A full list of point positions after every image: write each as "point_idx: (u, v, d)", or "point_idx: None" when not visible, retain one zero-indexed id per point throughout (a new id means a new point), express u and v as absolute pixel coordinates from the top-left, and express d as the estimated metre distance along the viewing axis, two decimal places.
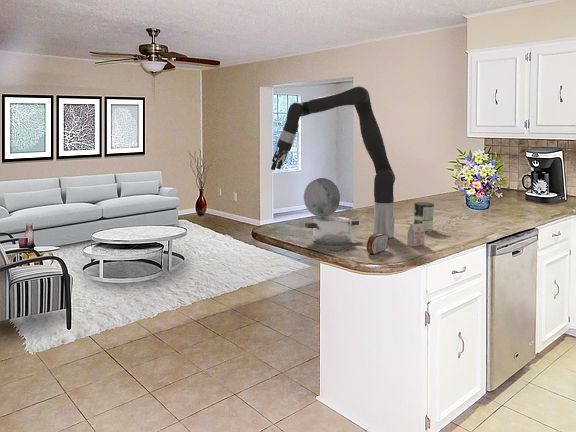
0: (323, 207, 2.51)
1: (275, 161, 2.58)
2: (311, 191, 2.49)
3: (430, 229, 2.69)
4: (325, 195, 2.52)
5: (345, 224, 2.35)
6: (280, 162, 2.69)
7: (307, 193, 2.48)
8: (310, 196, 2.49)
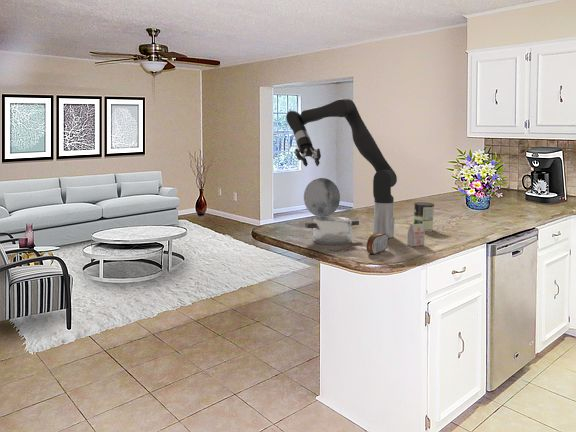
0: (323, 207, 2.51)
1: (299, 156, 2.60)
2: (311, 191, 2.49)
3: (430, 229, 2.69)
4: (325, 195, 2.52)
5: (345, 224, 2.35)
6: (315, 159, 2.63)
7: (307, 193, 2.48)
8: (310, 196, 2.49)
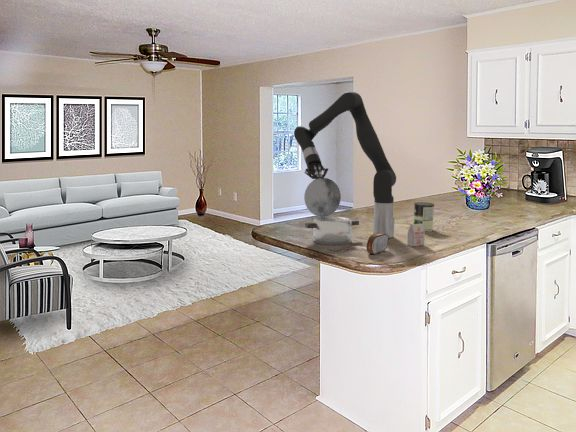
0: (323, 207, 2.51)
1: (313, 175, 2.53)
2: (312, 191, 2.48)
3: (430, 229, 2.69)
4: (326, 195, 2.51)
5: (345, 224, 2.35)
6: None
7: (307, 193, 2.47)
8: (311, 196, 2.48)
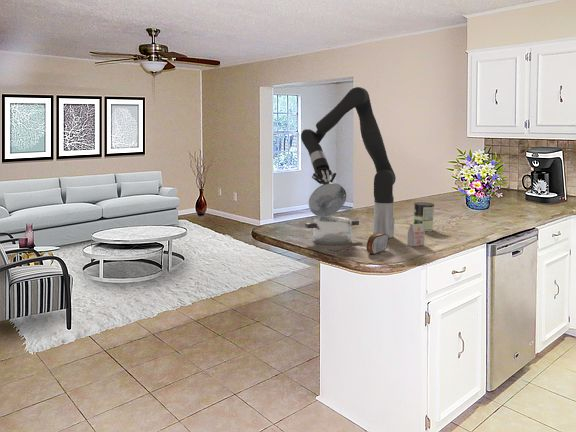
0: (326, 209, 2.49)
1: (320, 180, 2.45)
2: (318, 196, 2.42)
3: (430, 229, 2.69)
4: (331, 199, 2.46)
5: (345, 224, 2.35)
6: None
7: (313, 197, 2.41)
8: (316, 200, 2.43)
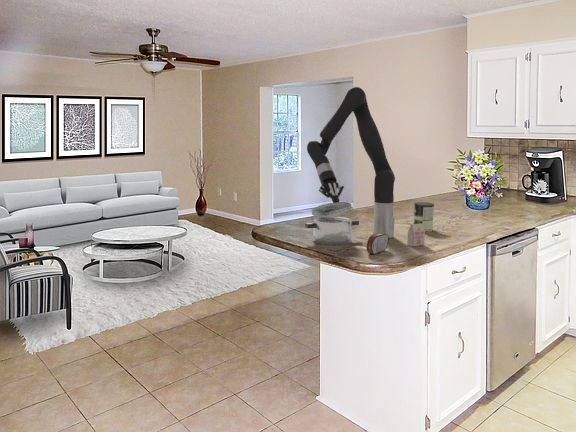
0: (327, 213, 2.47)
1: (328, 194, 2.38)
2: (323, 209, 2.38)
3: (430, 229, 2.69)
4: (335, 210, 2.43)
5: (345, 224, 2.35)
6: None
7: (317, 210, 2.38)
8: (319, 211, 2.39)
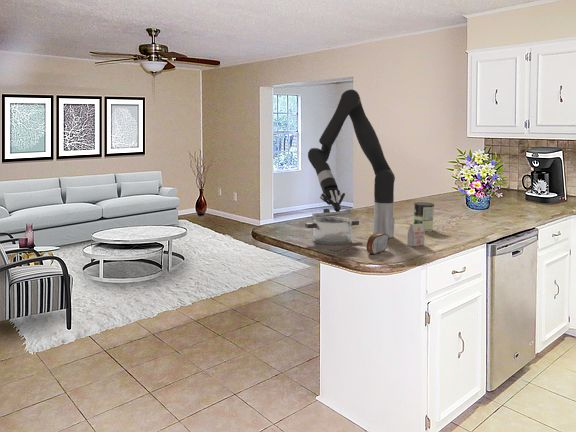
0: None
1: (329, 201, 2.37)
2: None
3: (430, 229, 2.69)
4: (336, 215, 2.42)
5: (345, 224, 2.35)
6: None
7: (318, 216, 2.37)
8: None
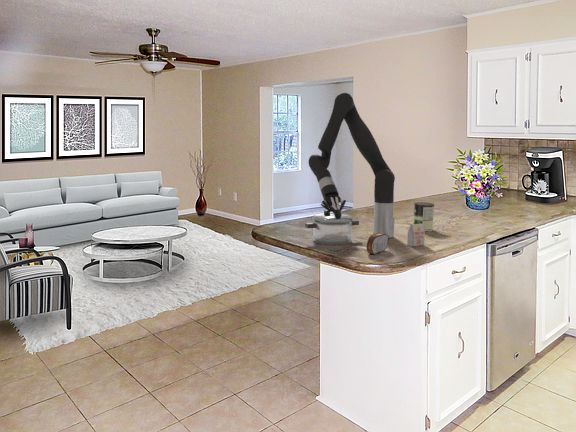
0: None
1: (330, 208, 2.37)
2: None
3: (430, 229, 2.69)
4: None
5: (345, 224, 2.35)
6: None
7: (318, 221, 2.37)
8: None
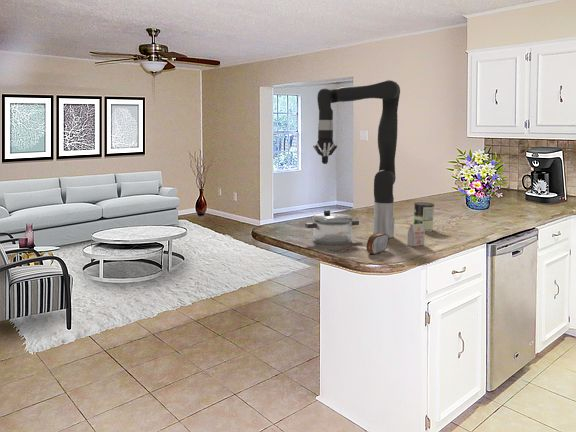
0: None
1: (320, 153, 2.58)
2: None
3: (430, 229, 2.69)
4: None
5: (345, 224, 2.35)
6: (325, 156, 2.60)
7: (318, 221, 2.37)
8: None
